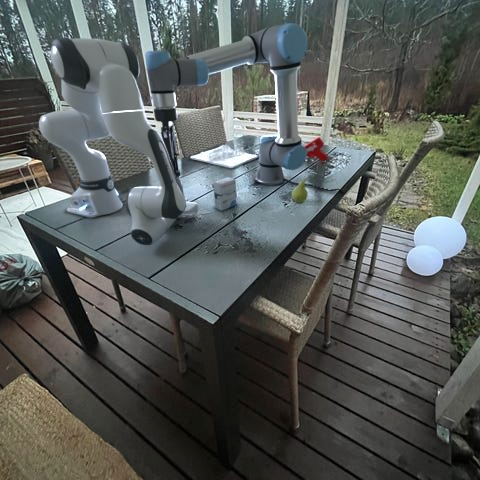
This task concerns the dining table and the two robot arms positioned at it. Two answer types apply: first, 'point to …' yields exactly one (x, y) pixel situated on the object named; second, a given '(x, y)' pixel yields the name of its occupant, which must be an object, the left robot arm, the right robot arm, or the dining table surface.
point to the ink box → (225, 193)
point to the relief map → (225, 156)
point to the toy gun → (316, 149)
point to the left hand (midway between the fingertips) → (178, 199)
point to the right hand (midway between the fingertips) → (174, 175)
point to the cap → (178, 173)
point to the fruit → (300, 192)
